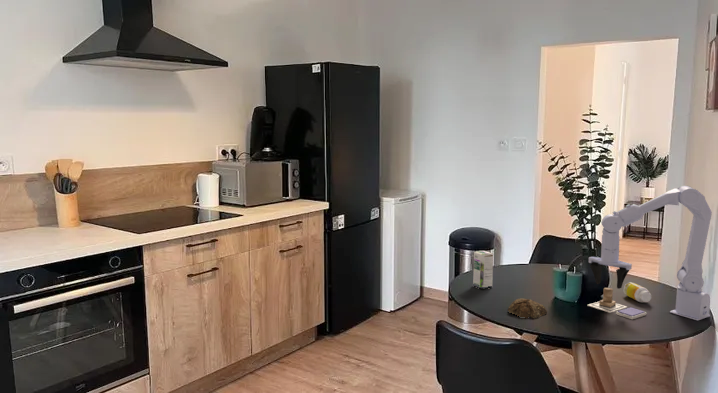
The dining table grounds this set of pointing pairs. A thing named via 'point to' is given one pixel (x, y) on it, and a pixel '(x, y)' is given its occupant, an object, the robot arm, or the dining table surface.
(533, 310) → the brown speckled mound
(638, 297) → the supplement bottle
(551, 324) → the dining table surface
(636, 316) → the ink pad
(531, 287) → the dining table surface
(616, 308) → the print sheet
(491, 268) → the syrup box
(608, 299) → the stamp
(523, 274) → the dining table surface
